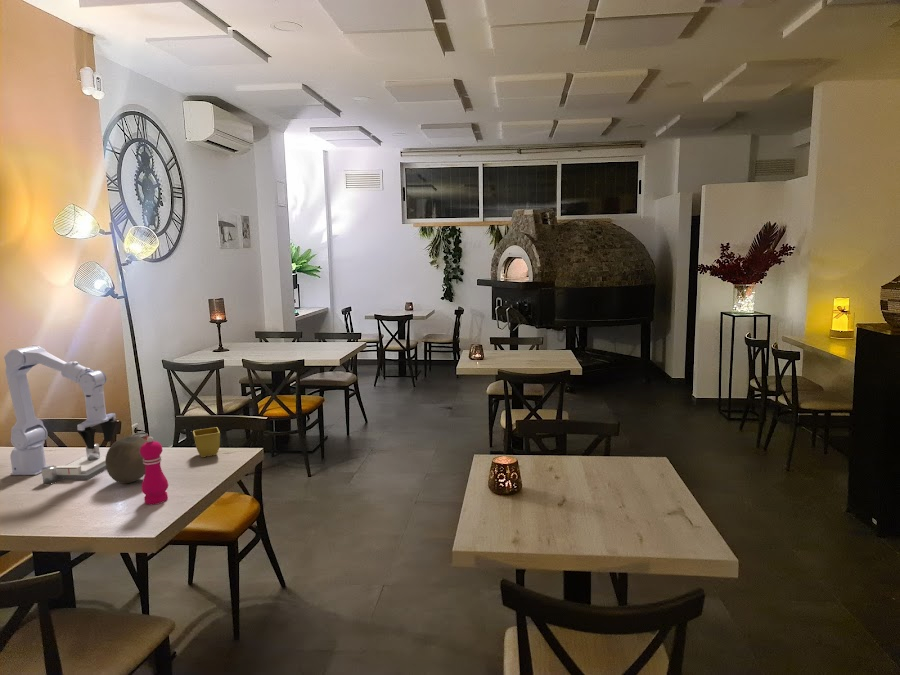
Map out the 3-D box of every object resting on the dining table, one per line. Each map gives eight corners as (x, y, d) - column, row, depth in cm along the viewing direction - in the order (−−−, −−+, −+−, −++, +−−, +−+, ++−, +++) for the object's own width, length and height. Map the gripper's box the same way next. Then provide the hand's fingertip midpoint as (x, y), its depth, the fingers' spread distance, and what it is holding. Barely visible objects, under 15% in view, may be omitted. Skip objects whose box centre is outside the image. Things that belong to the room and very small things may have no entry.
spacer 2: (84, 460, 211) (83, 447, 210) (92, 456, 215) (90, 443, 214) (95, 460, 211) (93, 447, 210) (102, 456, 214) (101, 443, 214)
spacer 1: (40, 484, 196) (38, 470, 195) (49, 480, 199) (47, 465, 199) (51, 484, 195) (49, 470, 194) (60, 480, 199) (58, 465, 198)
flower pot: (194, 453, 223) (192, 430, 221) (219, 449, 227) (217, 426, 225) (196, 460, 215) (194, 436, 214) (222, 456, 219) (220, 432, 218)
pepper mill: (158, 506, 176) (152, 441, 173) (137, 504, 177) (130, 440, 174) (174, 496, 183) (168, 433, 180) (154, 495, 184) (147, 432, 181)
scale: (46, 479, 200) (44, 467, 199) (81, 461, 217) (79, 450, 216) (88, 479, 199) (87, 467, 198) (120, 461, 216) (118, 450, 215)
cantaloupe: (112, 493, 186) (107, 447, 184) (104, 481, 197) (99, 437, 195) (161, 481, 195) (156, 437, 193) (150, 470, 206) (146, 428, 204)
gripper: (88, 412, 194) (92, 452, 196) (121, 401, 208) (125, 438, 210) (70, 411, 195) (74, 451, 197) (104, 400, 209) (108, 437, 211)
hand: (99, 444), depth 204 cm, fingers open, 7 cm apart
